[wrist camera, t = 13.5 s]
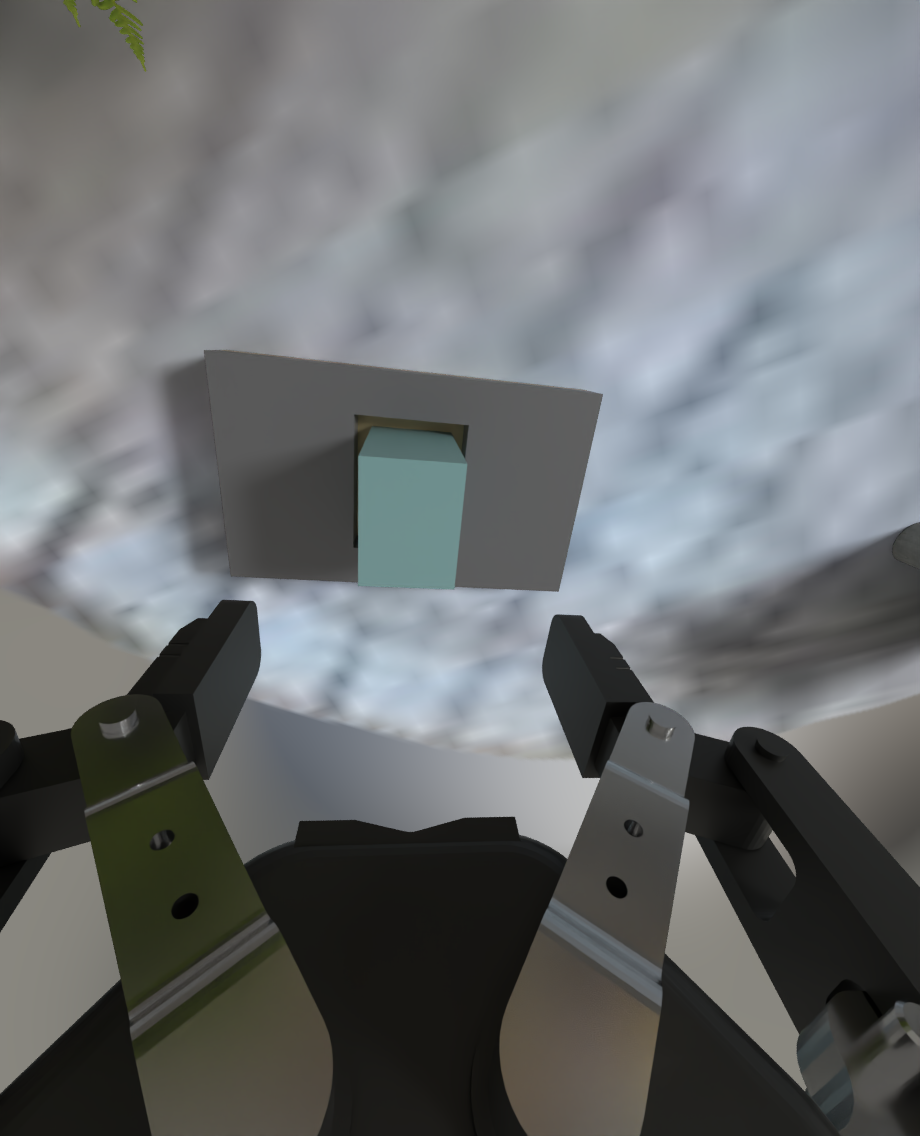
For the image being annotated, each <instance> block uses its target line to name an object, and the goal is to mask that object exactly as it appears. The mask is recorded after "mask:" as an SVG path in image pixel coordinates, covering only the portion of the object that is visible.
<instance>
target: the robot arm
mask: <svg viewBox="0 0 920 1136" xmlns="http://www.w3.org/2000/svg"><path fill="white" fill-rule="evenodd" d="M260 661H261V646H260V636H259V625H258V615H257V607H256V604H255V602H254V601H239V600H222V601H220V603H219V604H218V605H217V607H216V608H215V609H214V611H213V612H212V613H211V615H210V616H209V617H208V619H206V618H197V619H196V620H194V621H193V622H191V623H189V624H188V625H186V626H184V627H183V628H181V629H180V630H179V631H178V632H177V633H176V635H175V636H174V637H173V638H172V639H171V641H170V642H169V645H168V646H166V647H165V648H164V649H163V651H162V652H161V653H160V656H159V657H157V658H156V659H155V660H154V662H153V663H152V664H151V665H150V667H149V668H148V669H147V670H146V672H145V673H144V674H143V676H142V677H141V678H140V679H139V680H138V682H137V683H136V684H135V685H134V686H133V688H132V689H131V690H130V691H129V693H128V694H127V695H125V696H120V697H116V698H113V699H110V700H107V701H104V702H102V703H100V704H98V705H96V706H95V707H93V708H91V709H89V710H88V711H86V712H85V713H84V714H83V715H82V716H80V717H79V718H78V720H77V721H76V722H75V723H74V725H73V727H72V728H70V729H66V730H61V731H56V732H51V733H47V734H41V735H36V736H31V737H26V738H21V739H19V738H18V736H17V733H16V731H15V728H14V727H13V725H11V724H10V723H8V722H6V721H2V720H0V932H1V930H2V929H3V927H4V926H5V924H6V923H7V921H8V919H9V918H10V916H11V915H12V913H13V912H14V910H15V909H16V907H17V905H18V904H19V902H20V901H21V899H22V898H23V896H24V894H25V893H26V891H27V890H28V888H29V887H30V885H31V883H32V882H33V880H34V879H35V877H36V876H37V874H38V873H39V871H40V869H41V868H42V866H43V865H44V863H45V862H46V860H47V858H48V857H49V855H50V854H51V852H55V851H58V850H62V849H65V848H69V847H72V846H76V845H79V844H83V843H86V842H89V841H91V845H92V849H93V854H94V859H95V863H96V868H97V873H98V876H99V882H100V886H101V891H102V895H103V900H104V904H105V909H106V914H107V918H108V923H109V927H110V932H111V936H112V941H113V945H114V950H115V954H116V959H117V964H118V968H119V973H120V977H121V979H120V980H119V981H118V982H117V983H116V984H115V985H114V986H113V987H112V988H111V989H110V990H109V991H108V992H107V993H105V995H103V996H102V998H100V999H99V1000H98V1001H97V1002H96V1003H95V1004H94V1005H93V1006H92V1007H91V1008H90V1009H89V1010H88V1011H87V1012H86V1013H84V1014H83V1015H82V1016H81V1017H80V1018H79V1019H78V1020H77V1021H76V1022H75V1023H74V1024H73V1025H72V1026H71V1027H70V1028H69V1029H68V1030H67V1031H66V1032H65V1033H64V1034H62V1035H61V1036H60V1037H59V1038H58V1039H57V1040H56V1041H55V1042H54V1043H53V1044H52V1045H51V1046H50V1047H49V1048H48V1049H47V1050H46V1051H45V1052H44V1053H42V1054H41V1055H40V1056H39V1057H38V1058H37V1059H36V1060H35V1061H34V1062H33V1063H32V1064H31V1065H30V1066H29V1067H28V1068H27V1069H26V1070H25V1071H24V1072H23V1073H21V1075H19V1076H18V1077H17V1078H16V1079H15V1080H14V1081H13V1082H12V1083H11V1084H10V1085H9V1086H8V1087H7V1088H6V1089H5V1090H4V1091H3V1092H2V1093H1V1094H0V1136H920V887H919V886H918V885H917V884H916V883H915V881H914V880H913V879H912V878H911V877H910V876H909V875H908V874H907V872H906V871H905V870H904V869H903V868H902V867H901V866H900V865H899V863H898V862H897V861H896V860H895V859H894V858H893V857H892V856H891V854H890V853H889V852H888V851H887V850H886V849H885V848H884V847H883V845H882V844H881V843H880V842H879V841H878V840H877V839H876V838H875V836H874V835H873V834H872V833H871V832H870V831H869V830H868V829H867V827H866V826H865V825H864V824H863V823H862V822H861V821H860V820H859V818H858V817H857V816H856V815H855V814H854V813H853V812H852V811H851V809H850V808H849V807H848V806H847V805H846V804H845V803H844V802H843V800H841V798H840V797H839V796H838V795H837V794H836V793H835V791H834V790H833V789H832V788H831V787H830V786H829V785H828V784H827V782H826V781H825V780H824V779H823V778H822V777H821V776H820V775H819V773H818V772H817V771H816V770H815V769H814V768H813V767H812V766H811V764H810V763H809V762H808V761H807V760H806V759H805V758H804V757H803V755H802V754H801V753H800V752H799V751H798V750H797V749H796V748H795V747H793V746H792V745H791V744H790V743H788V742H787V741H786V740H784V739H783V738H781V737H779V736H777V735H775V734H773V733H771V732H769V731H766V730H763V729H760V728H755V727H742V728H739V729H737V730H736V731H735V732H734V734H733V736H732V738H731V740H730V742H727V741H723V740H719V739H715V738H711V737H707V736H703V735H699V734H696V733H694V731H693V728H692V727H691V725H690V724H689V722H688V721H687V720H686V719H685V718H684V717H682V716H681V715H680V714H679V713H677V712H676V711H674V710H672V709H670V708H668V707H666V706H663V705H661V704H657V703H654V702H653V700H652V699H651V698H650V696H649V695H648V693H647V692H646V690H645V689H644V687H643V686H642V684H641V683H640V681H639V680H638V678H637V677H636V676H635V674H634V673H633V671H632V670H630V667H629V665H628V664H627V662H626V661H625V660H623V656H622V655H621V654H620V652H619V651H618V649H617V648H616V646H615V645H614V644H613V643H612V642H610V641H609V640H608V639H606V638H605V637H604V636H603V635H601V634H597V633H594V632H593V631H592V629H591V628H590V626H589V625H588V623H587V621H586V620H585V618H584V617H583V616H581V615H555V616H554V617H553V619H552V622H551V626H550V631H549V635H548V639H547V644H546V648H545V653H544V657H543V663H542V673H543V679H544V683H545V685H546V688H547V690H548V693H549V695H550V698H551V700H552V703H553V705H554V708H555V710H556V713H557V715H558V718H559V720H560V723H561V725H562V728H563V730H564V733H565V735H566V738H567V740H568V743H569V745H570V748H571V750H572V753H573V755H574V758H575V760H576V763H577V765H578V768H579V770H580V773H581V775H582V778H600V780H599V783H598V786H597V788H596V790H595V793H594V795H593V798H592V800H591V803H590V805H589V808H588V810H587V813H586V815H585V818H584V820H583V822H582V825H581V828H580V830H579V832H578V835H577V837H576V840H575V842H574V845H573V847H572V850H571V852H570V854H569V857H568V859H567V858H565V857H564V856H563V855H561V854H560V853H559V852H557V851H555V850H554V849H552V848H551V847H549V846H547V845H545V844H543V843H541V842H539V841H537V840H534V839H531V838H528V837H526V836H521V835H519V833H518V829H517V824H516V820H515V817H482V818H481V817H480V818H462V819H459V820H455V821H451V822H448V823H444V824H441V825H437V826H434V827H430V828H427V829H423V830H419V831H415V832H405V831H400V830H396V829H392V828H387V827H383V826H378V825H374V824H370V823H366V822H361V821H357V820H337V821H336V820H334V821H300V822H299V827H298V831H297V835H296V839H295V840H294V841H291V842H287V843H284V844H282V845H279V846H277V847H274V848H272V849H270V850H268V851H266V852H264V853H262V854H260V855H258V856H256V857H255V858H253V859H252V860H250V861H249V862H247V863H246V864H244V865H243V863H242V860H241V858H240V856H239V854H238V852H237V850H236V848H235V846H234V844H233V842H232V840H231V837H230V835H229V834H228V832H227V829H226V827H225V825H224V823H223V821H222V819H221V817H220V814H219V812H218V810H217V808H216V806H215V804H214V802H213V800H212V798H211V796H210V793H209V791H208V790H207V787H206V785H205V783H204V781H203V780H209V778H210V776H211V774H212V772H213V769H214V767H215V765H216V763H217V761H218V759H219V757H220V754H221V752H222V750H223V748H224V746H225V743H226V741H227V739H228V737H229V735H230V733H231V730H232V729H233V726H234V724H235V722H236V720H237V718H238V716H239V713H240V711H241V709H242V707H243V705H244V702H245V700H246V698H247V696H248V694H249V692H250V690H251V687H252V685H253V683H254V681H255V679H256V677H257V674H258V671H259V667H260ZM772 830H773V831H774V832H775V834H776V835H777V837H778V838H779V840H780V841H781V843H782V844H783V845H784V847H785V848H786V850H787V851H788V853H789V854H790V856H791V858H792V860H793V863H794V865H795V869H796V877H795V876H794V874H793V873H792V871H791V870H790V868H789V867H788V865H787V864H786V862H785V861H784V859H783V858H782V856H781V855H780V853H779V852H778V850H777V849H776V847H775V846H774V844H773V843H772V841H771V840H770V838H769V835H770V834H771V832H772ZM685 832H687V833H690V834H694V835H695V836H696V838H697V840H698V841H699V843H700V845H701V847H702V849H703V851H704V853H705V855H706V857H707V859H708V861H709V862H710V864H711V866H712V868H713V870H714V872H715V874H716V876H717V878H718V880H719V881H720V883H721V885H722V887H723V889H724V891H725V893H726V895H727V897H728V899H729V901H730V903H731V904H732V907H733V908H734V910H735V912H736V914H737V916H738V918H739V920H740V922H741V924H742V926H743V927H744V929H745V931H746V933H747V935H748V937H749V939H750V941H751V943H752V945H753V947H754V949H755V950H756V952H757V954H758V956H759V958H760V960H761V962H762V964H763V966H764V968H765V969H766V972H767V974H768V975H769V977H770V979H771V981H772V983H773V985H774V987H775V989H776V991H777V993H778V995H779V996H780V998H781V1000H782V1002H783V1004H784V1006H785V1008H786V1010H787V1012H788V1014H789V1016H790V1018H791V1019H792V1021H793V1023H794V1025H795V1027H796V1029H797V1031H798V1033H799V1037H798V1040H797V1059H798V1064H799V1068H800V1072H801V1074H802V1077H803V1080H804V1082H805V1085H806V1087H807V1088H806V1091H804V1090H803V1089H802V1088H801V1087H800V1086H799V1085H798V1084H797V1083H796V1082H795V1081H794V1080H793V1079H792V1078H791V1077H790V1076H789V1075H788V1074H787V1073H786V1072H785V1071H784V1070H783V1069H782V1068H781V1067H780V1066H779V1065H778V1064H777V1063H776V1062H775V1061H774V1060H773V1059H772V1058H771V1057H770V1056H769V1055H768V1054H767V1053H766V1052H765V1051H764V1050H763V1049H762V1048H761V1047H760V1046H759V1045H758V1044H757V1043H756V1042H755V1041H753V1040H752V1039H751V1038H750V1037H749V1036H748V1035H747V1034H746V1033H745V1032H744V1031H743V1030H742V1029H741V1028H740V1027H739V1026H738V1025H737V1024H736V1023H735V1022H734V1021H733V1020H732V1019H731V1018H730V1017H729V1016H728V1015H727V1014H726V1013H725V1012H724V1011H723V1010H722V1009H721V1008H720V1007H719V1006H718V1005H717V1004H716V1003H715V1002H714V1001H713V1000H712V999H711V998H710V997H708V995H707V994H706V993H704V991H703V990H702V989H701V988H699V986H698V985H697V984H696V983H694V982H693V981H692V980H691V979H690V978H689V977H688V976H687V975H686V974H685V973H684V972H683V971H682V970H681V969H680V968H679V967H678V966H677V965H676V964H675V963H674V962H673V961H672V960H671V959H670V958H669V957H668V956H667V955H666V954H665V948H666V942H667V936H668V930H669V924H670V918H671V912H672V906H673V900H674V894H675V888H676V882H677V876H678V870H679V864H680V858H681V852H682V846H683V840H684V834H685Z"/></svg>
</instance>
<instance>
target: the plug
mask: <svg viewBox="0 0 920 1136" xmlns="http://www.w3.org/2000/svg"><path fill="white" fill-rule="evenodd" d="M466 472H467V462H466V460H465V458H464V456H463V454H462V453H461V451H460V449H459V447H458V445H457V443H456V441H455V439H454V437H453V435H452V433H451V432H440V431H428V430H416V429H404V428H392V427H380V426H372V427H371V429H370V432H369V434H368V436H367V438H366V440H365V442H364V445H363V447H362V449H361V451H360V453H359V456H358V586H375V587H402V588H429V589H454V588H455V578H456V569H457V559H458V549H459V540H460V530H461V520H462V511H463V501H464V491H465V482H466Z"/></svg>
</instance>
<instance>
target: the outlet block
mask: <svg viewBox="0 0 920 1136" xmlns="http://www.w3.org/2000/svg"><path fill="white" fill-rule="evenodd" d="M204 356H205V364H206V372H207V381H208V389H209V398H210V406H211V414H212V423H213V431H214V440H215V448H216V456H217V465H218V473H219V482H220V490H221V498H222V507H223V515H224V524H225V532H226V540H227V549H228V557H229V566H230V574H231V576H234V577H256V578H278V579H299V580H321V581H342V582H358V456H359V453H360V451H361V449H362V447H363V445H364V442H365V440H366V438H367V436H368V434H369V432H370V429H371V427H372V426H380V427H392V428H404V429H416V430H428V431H440V432H451V433H452V435H453V437H454V439H455V441H456V443H457V445H458V447H459V449H460V451H461V453H462V454H463V456H464V458H465V460H466V462H467V472H466V482H465V491H464V501H463V511H462V520H461V530H460V540H459V549H458V559H457V569H456V578H455V587H471V588H493V589H514V590H536V591H557V592H559V588H560V583H561V579H562V574H563V570H564V565H565V561H566V557H567V552H568V548H569V543H570V539H571V534H572V530H573V525H574V521H575V517H576V512H577V508H578V503H579V499H580V494H581V490H582V485H583V481H584V476H585V472H586V468H587V463H588V459H589V454H590V450H591V445H592V441H593V436H594V432H595V427H596V423H597V419H598V414H599V410H600V405H601V401H602V396H603V394H599V393H595V392H591V391H587V390H581V389H572V388H563V387H554V386H545V385H536V384H527V383H518V382H509V381H500V380H491V379H482V378H473V377H464V376H455V375H446V374H437V373H428V372H419V371H410V370H401V369H392V368H383V367H374V366H365V365H356V364H347V363H338V362H329V361H320V360H311V359H302V358H293V357H284V356H275V355H266V354H257V353H248V352H239V351H230V350H204Z"/></svg>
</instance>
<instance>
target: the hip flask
mask: <svg viewBox="0 0 920 1136" xmlns="http://www.w3.org/2000/svg"><path fill="white" fill-rule="evenodd" d="M893 556H894V557H895V558H896V559H897V560H899V561H901V562H904V563H906V564H908V565H911V566H913V567H915V568H918V569H920V523H916V524H914V525H911V526H910V527H908V528H906V529H905V530H904V531H903V532H902V533H901V534H900V535H899V536H898V537H897V539H896V540H895V542H894V545H893Z"/></svg>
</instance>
